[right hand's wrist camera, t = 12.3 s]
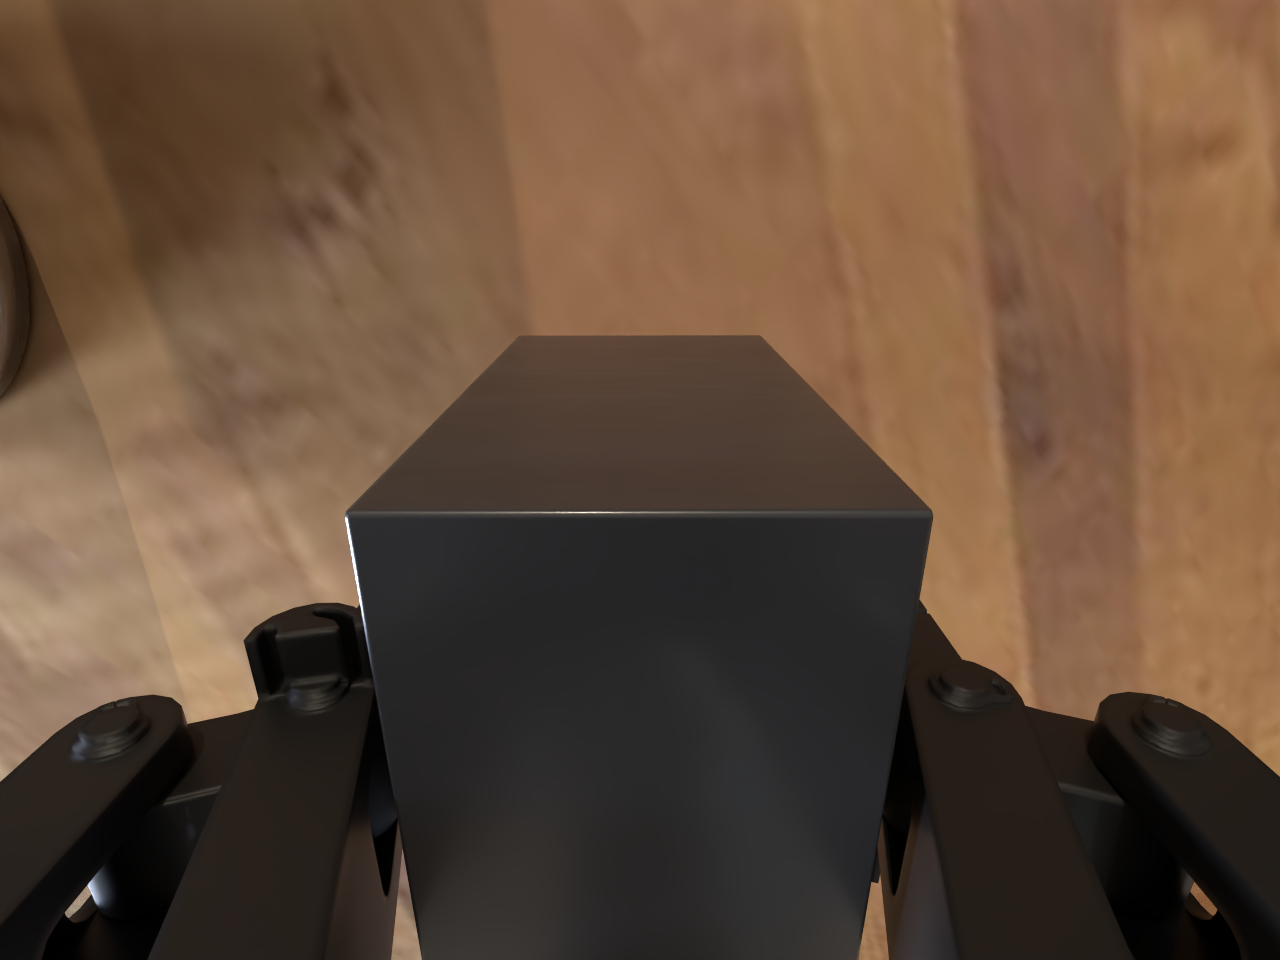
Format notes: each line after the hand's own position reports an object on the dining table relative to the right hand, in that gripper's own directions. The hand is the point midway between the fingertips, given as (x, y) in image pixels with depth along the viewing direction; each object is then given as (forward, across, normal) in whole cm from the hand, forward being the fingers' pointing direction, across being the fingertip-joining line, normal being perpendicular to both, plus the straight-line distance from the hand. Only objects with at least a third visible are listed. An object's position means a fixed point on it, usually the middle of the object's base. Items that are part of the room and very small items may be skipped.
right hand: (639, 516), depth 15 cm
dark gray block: (-1, 0, -11) cm, 11 cm away
